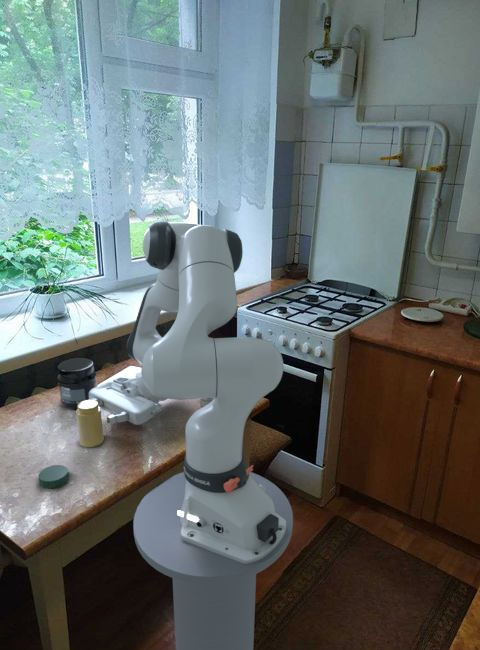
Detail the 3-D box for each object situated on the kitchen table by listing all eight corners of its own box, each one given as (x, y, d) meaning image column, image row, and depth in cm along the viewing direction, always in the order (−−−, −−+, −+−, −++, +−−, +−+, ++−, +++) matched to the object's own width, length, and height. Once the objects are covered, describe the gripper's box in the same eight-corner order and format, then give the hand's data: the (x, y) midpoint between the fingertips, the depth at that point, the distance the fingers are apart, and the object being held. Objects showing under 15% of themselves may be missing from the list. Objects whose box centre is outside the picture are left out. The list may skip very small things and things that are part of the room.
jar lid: (37, 477, 112) (35, 470, 111) (65, 468, 115) (64, 461, 114) (43, 491, 107) (41, 484, 106) (71, 482, 110) (71, 475, 110)
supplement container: (99, 392, 151) (96, 355, 146) (98, 408, 142) (94, 370, 137) (62, 395, 148) (58, 358, 144) (59, 412, 139) (53, 373, 134)
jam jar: (108, 440, 127) (105, 403, 123) (89, 450, 122) (85, 412, 118) (94, 432, 130) (90, 396, 126) (75, 441, 125) (70, 405, 121)
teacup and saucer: (120, 388, 154) (119, 376, 152) (135, 378, 160) (135, 367, 159) (143, 394, 151) (143, 382, 149) (158, 383, 157) (158, 372, 156)
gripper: (165, 417, 132) (124, 439, 121) (115, 395, 142) (73, 413, 132) (164, 396, 129) (122, 417, 119) (113, 375, 140) (70, 392, 129)
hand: (96, 415), depth 125 cm, fingers open, 8 cm apart
